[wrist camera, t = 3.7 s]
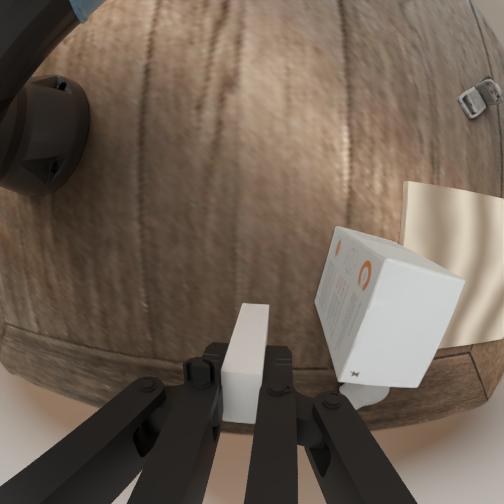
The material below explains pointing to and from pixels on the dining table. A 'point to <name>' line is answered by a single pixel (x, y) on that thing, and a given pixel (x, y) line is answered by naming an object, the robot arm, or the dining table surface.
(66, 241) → the dining table surface
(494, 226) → the birch board
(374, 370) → the small box
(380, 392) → the smooth white sculpture
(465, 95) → the strap clip
